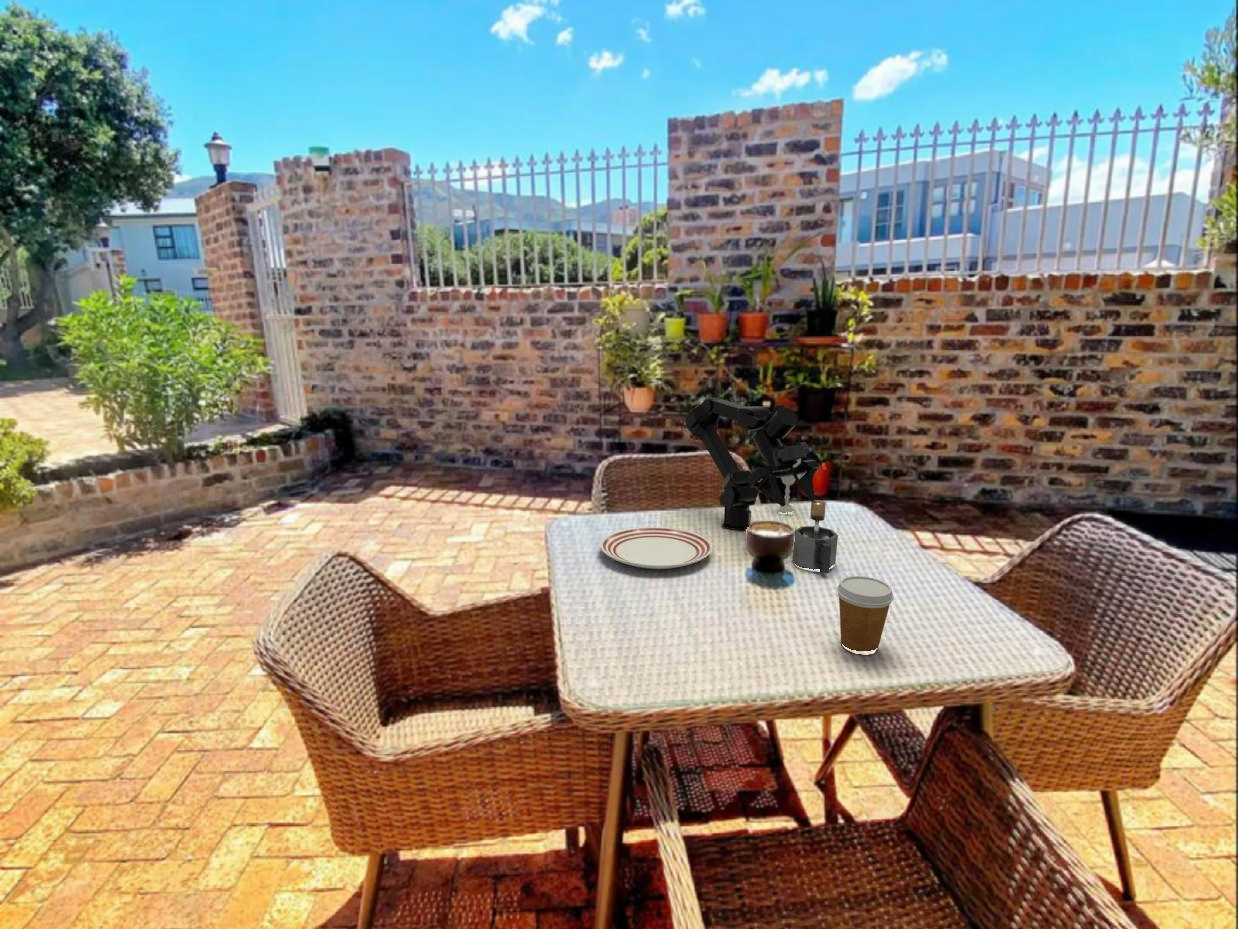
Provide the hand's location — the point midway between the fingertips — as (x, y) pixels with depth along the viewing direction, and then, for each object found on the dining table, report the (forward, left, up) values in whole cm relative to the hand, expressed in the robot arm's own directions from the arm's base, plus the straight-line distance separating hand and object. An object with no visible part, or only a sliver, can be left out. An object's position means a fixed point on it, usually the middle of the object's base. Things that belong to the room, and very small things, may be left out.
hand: (799, 503), depth 156 cm
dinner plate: (-31, -15, -14) cm, 37 cm away
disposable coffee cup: (+19, -39, -14) cm, 45 cm away
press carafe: (+6, -5, -13) cm, 15 cm away
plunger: (+5, -4, -9) cm, 11 cm away
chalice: (-9, +32, -14) cm, 36 cm away
